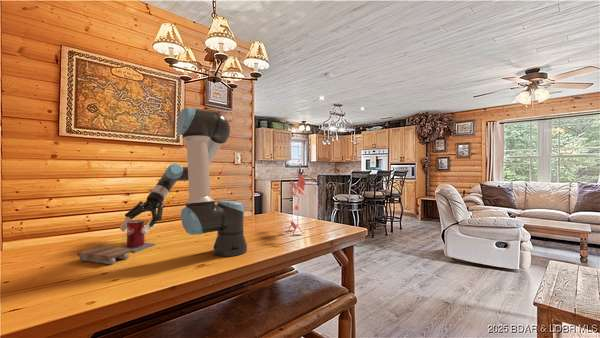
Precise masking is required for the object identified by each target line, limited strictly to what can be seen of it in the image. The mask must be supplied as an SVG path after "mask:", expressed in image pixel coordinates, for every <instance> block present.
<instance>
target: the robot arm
mask: <svg viewBox="0 0 600 338" xmlns="http://www.w3.org/2000/svg"><path fill="white" fill-rule="evenodd" d="M176 132H177V134H178V135H181V137H182V141H184V142H185V143H186V158H187V166H182V165H180V164H178V163H172V164H169V165H168V167H167V168H166V169H165V171H164V173H163V174H162V176H161V178H160V179H159V180H158V182H157V183H156V185H155V186H154V187H153V188H152V190H151V191H150V192H149V194H148V195H147V197H146V201H145V202H143V201H139V202H138V203H137V204H136V205H135V206H134V207H132V208H131V209H129V211H128V212H126V213H124V217H125V220H124V221H123V222H122V224H121V226H119V230H121V231H122V232H125V231H127V222H128V221H131V220H134V218H136V217H137V216H139V215H140V214H142V213H145V212H150V213H151V218H149V219H148V220H149V221H147V224H145V228H144V229H143V231H144V232H145V234H148V233H149V232H150V230H151V228H153V227H154V225H155V224H156V223H157V222H158V221H159V222H161V221H162V218H163V217H162V216H163V210H164V208H165V205H164V204H163V202H164V200H165V199H166V198H167V196H168V195H169V194H170V192H171V190H172V188H173V187H174V185H175V184H176V183H177V182H188V196H189V198H188V200H187V201H186V202H185V207H183V208H182V209H181V211H180V219H181V220H180V221H181V224H182V227H183V229H184V231H185V232H186V233H187V234H188V235H190V236H196V235H202V234H207V233H213V232H217V236H216V240H215V241H214V245H213V247H212V248H213V250H212V251H213V252H212V253H213V254H214V255H215V256H219V257H235V256H240V255H243V254H245V253H247V251H248V243H247V241H246V238H245V235H244V225H245V224H244V220H245V219H244V218H245V217H244V216H245V215H244V214H245V211H244V210H245V209H244V204H243V202H239V201H233V200H217V204H215V199H214V198H212V197H211V181H210V166H211V163H212V162H213V161H214V160H215V159H214V158H215V157H216V155H217V153H218V152H219V150H220V148H221V146H222V145H224V144H225V143H226V142H227V140H228V139H229V138H230V133H231V125H230V122H229V121H228V118H227V117H226V116H225V115H224V114H222V113H221V112H218V111H215V110H213V111H212V110H207V109H201V108H195V107H192V108H191V107H184V108H182V109H181V110H180V112H179V115H178V116H177V120H176Z"/></svg>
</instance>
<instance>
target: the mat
mask: <svg viewBox="0 0 600 338" xmlns="http://www.w3.org/2000/svg"><path fill="white" fill-rule="evenodd" d="M156 245H157V244H156V243H155V242H154V243H153V242H152V243H151V242H145V244H144V245H143V246H141V247H138V248H130V252H129V253H137V251H138V252H140V251H143V250H145V248H146V249H148V247H149V248H151V247H154V246H156ZM120 247H121V248H128V247H127V244H125V245H122V246H120ZM142 249H143V250H142Z"/></svg>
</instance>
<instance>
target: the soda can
mask: <svg viewBox="0 0 600 338" xmlns="http://www.w3.org/2000/svg"><path fill="white" fill-rule="evenodd" d="M145 226H146V224H145V220H144V219H132V220H131V221H128V222H127V228H126V245H127V247H128V248H138V247H141V246H143V245H144V244H145V243H146V242H145V238H146V237H145V234H146V233H145V232H144V231H143V229H144V228H145Z"/></svg>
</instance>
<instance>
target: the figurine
mask: <svg viewBox="0 0 600 338" xmlns="http://www.w3.org/2000/svg"><path fill="white" fill-rule="evenodd" d="M297 177H298V178H297V179H298V181H297V182H296V183H295V182H294V181H293V180H291V181H290V188H289V194H292V196H293V197H294V198H295V197H297V198H298V199H297V200H298V201H297V204H296V205H295V206H294V208H293V209H292V210H290V215H291V217H293V212H292V211H294V210H296V211H299V210H300V206H299V202H300V196H299V195H304V196H305V197H307V194H306V193H305V191H304V190H305V186H306V185H307V182H306V181H305V176H304V174H303V173H302V174H301V173H299V174H298V176H297ZM292 188H293V189H294V190H293V191H292V192H291V190H292ZM297 192H298V195H297ZM296 214H297V223H295V222H294V220H293V218H291V221H290V225H289V227H288V230H287V231H288V232H289V231H290V229H291V228H293V232H292V234H293V235H294V234H295V232H296V230H297V228H298V230H299V231H300V232H301V234H302V235H304V232H303V231H302V229H301V227H300V226H299V213H296Z"/></svg>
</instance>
